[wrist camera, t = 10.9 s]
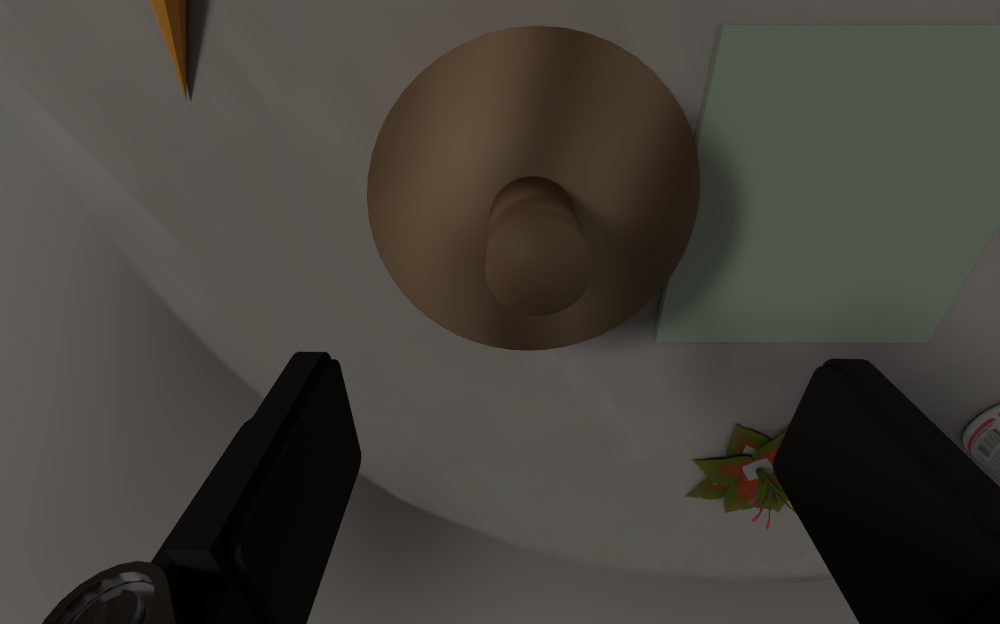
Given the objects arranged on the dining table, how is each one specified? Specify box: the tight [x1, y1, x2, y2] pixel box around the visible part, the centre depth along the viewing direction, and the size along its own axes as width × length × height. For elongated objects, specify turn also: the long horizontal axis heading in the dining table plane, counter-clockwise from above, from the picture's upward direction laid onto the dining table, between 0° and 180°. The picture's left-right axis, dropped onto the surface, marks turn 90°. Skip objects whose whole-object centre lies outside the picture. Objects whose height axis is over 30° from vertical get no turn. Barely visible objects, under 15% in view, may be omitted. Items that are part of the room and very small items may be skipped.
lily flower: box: [685, 424, 796, 529], centre depth 37 cm, size 12×12×5 cm
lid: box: [367, 26, 700, 350], centre depth 18 cm, size 14×14×6 cm
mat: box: [653, 25, 1000, 344], centre depth 26 cm, size 18×18×1 cm
